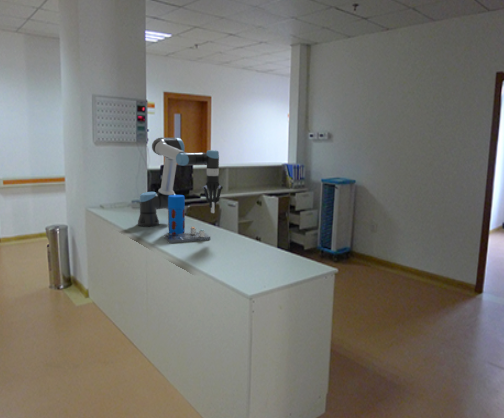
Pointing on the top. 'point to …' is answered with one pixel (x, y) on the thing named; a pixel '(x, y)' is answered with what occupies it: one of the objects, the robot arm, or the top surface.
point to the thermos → (176, 214)
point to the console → (185, 237)
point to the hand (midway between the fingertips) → (212, 212)
